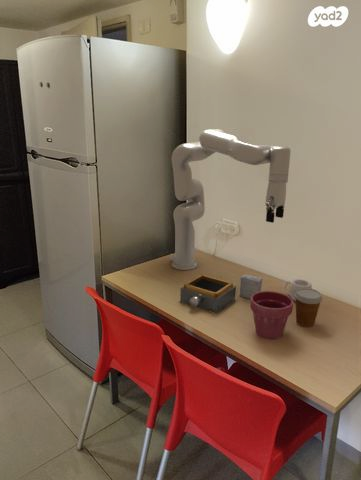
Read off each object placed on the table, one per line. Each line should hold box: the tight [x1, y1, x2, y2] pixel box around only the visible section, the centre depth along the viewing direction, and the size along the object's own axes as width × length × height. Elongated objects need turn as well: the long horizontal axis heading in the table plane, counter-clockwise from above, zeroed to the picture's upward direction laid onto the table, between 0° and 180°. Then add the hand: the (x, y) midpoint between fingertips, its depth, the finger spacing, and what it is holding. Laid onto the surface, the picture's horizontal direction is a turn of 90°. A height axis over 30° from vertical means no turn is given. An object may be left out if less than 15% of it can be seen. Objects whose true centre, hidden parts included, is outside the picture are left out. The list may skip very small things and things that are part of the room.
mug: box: [284, 278, 313, 302], centre depth 162 cm, size 12×8×8 cm
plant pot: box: [249, 290, 294, 340], centre depth 136 cm, size 14×14×13 cm
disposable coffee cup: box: [295, 288, 323, 328], centre depth 142 cm, size 10×10×12 cm
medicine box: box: [239, 273, 263, 300], centre depth 163 cm, size 8×4×9 cm, turn 59°
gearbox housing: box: [179, 274, 237, 315], centre depth 158 cm, size 17×19×8 cm
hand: (274, 219), depth 163 cm, fingers open, 9 cm apart
